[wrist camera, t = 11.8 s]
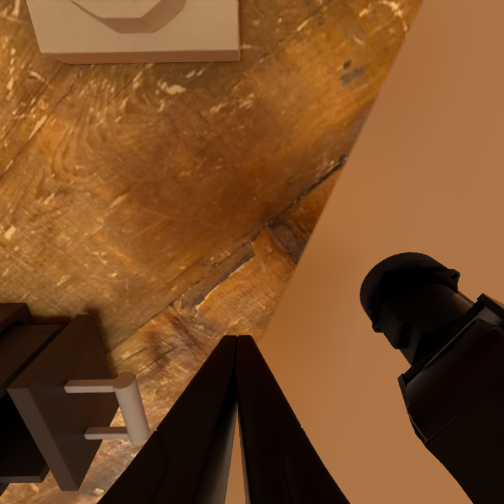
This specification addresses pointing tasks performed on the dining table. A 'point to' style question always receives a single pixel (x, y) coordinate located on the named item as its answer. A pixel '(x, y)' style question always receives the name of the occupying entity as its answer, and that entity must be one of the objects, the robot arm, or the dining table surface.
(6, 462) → the dark brown drawer
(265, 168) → the dining table surface
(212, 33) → the control block
